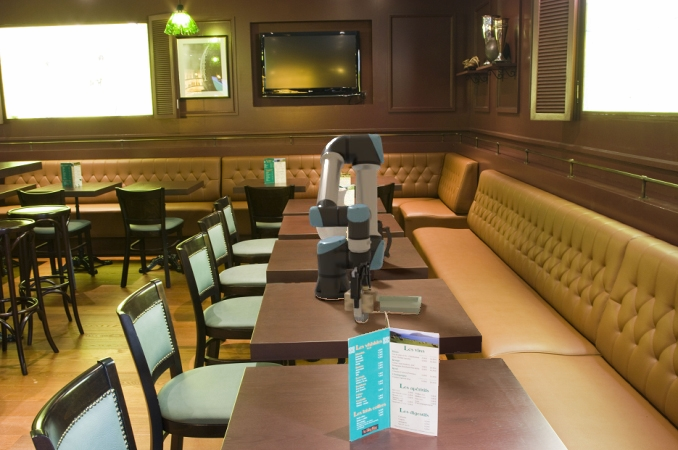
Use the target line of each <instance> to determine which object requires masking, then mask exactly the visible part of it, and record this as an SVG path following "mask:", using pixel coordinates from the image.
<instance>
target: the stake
mask: <svg viewBox="0 0 678 450" xmlns="http://www.w3.org/2000/svg"><path fill="white" fill-rule="evenodd" d="M369 289H370V288H369V285H361V294H364V293H363V290H369ZM368 318H370V317H369V313H365V312H362V317H355V316H354V321H355V320H357V321H362V322H365V321H366V320H367V319H368Z"/></svg>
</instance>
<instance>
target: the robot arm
mask: <svg viewBox="0 0 678 450" xmlns="http://www.w3.org/2000/svg"><path fill="white" fill-rule="evenodd" d="M382 142H383V141H382V137H381V136H380V135H379V134H377V133H375V134H370V133H364V134H342V135H338V136H335V137H334V138H333V139H331V140H330V141H329V142H328V143H327V144H326V145H325V147H324V148H323V150H322V151H321V153H320V159H319V163H320V165H321V171H320V178H319V185H318V193H317V199H316V205H315V206H314V205H313V206H310V208H309V209H308V221H309V226H311V227H312V228H316V227H321V228H322V227H348V240H347V239H346V237H345V236H333V237H328V238H325V239H321V240H319V241H318V242H317V244H316V259H317V280H316V284H315V288H314V296H315V295H317V296H318V297H321V298H327V299H338V298H344V294H345V293H346V292H347V291H349V290H350V298H351V299H353V305H354V311H353V316H354V318H355V317H362V304H361V299H360V294H361V285H369V290H372V280H371V279H370V270H374V271H376V270H380V269H381V268H382V267H383V264H384V262H383V259H384V260H385V258H384V257H385V256H384V252H385V249H386V247H385V246H386V240H381V235H380V234H379V233H378V224H377V220H378V171H380V170H381V167H382V165H383V164H384V163H385V155H384V150H383V149H384V148H383V143H382ZM344 165H351V169H352V170H353V171H354V172H355V204H352V205H347V206H337V203H338V193H339V188H340V183H341V182H340V181H341V172H342V169H343V168H344ZM348 271H349V277H348ZM349 278H350V279H349Z"/></svg>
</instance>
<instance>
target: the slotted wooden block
mask: <svg viewBox="0 0 678 450" xmlns="http://www.w3.org/2000/svg"><path fill="white" fill-rule="evenodd" d="M363 293H364V294H360V299H361V304H362V312H365V313H368V314H373V313H372V312H373V311H377V312H378V311H379V310H380V302H379V301H378V295H379V294H378V290H372V289H371V290H363ZM343 300H344V311H347V312H354V305H353V299H351V298H350V290H349V291H347V292H346V293H345V294H344V299H343Z"/></svg>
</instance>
